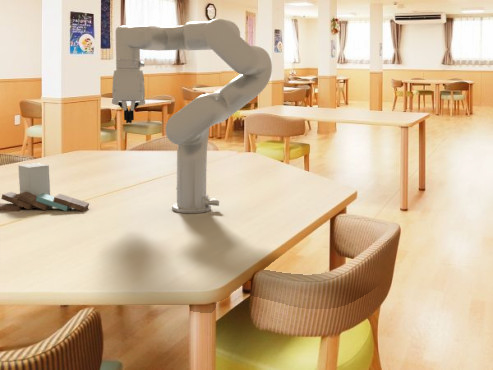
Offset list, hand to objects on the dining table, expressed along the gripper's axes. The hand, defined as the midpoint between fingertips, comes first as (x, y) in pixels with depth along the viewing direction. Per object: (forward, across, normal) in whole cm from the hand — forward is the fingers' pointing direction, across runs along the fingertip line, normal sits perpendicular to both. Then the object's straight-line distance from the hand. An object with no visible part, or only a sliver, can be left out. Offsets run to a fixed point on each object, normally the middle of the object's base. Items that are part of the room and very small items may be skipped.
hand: (129, 122), depth 198 cm
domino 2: (+26, +30, +8) cm, 40 cm away
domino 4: (+26, +18, +9) cm, 33 cm away
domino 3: (+26, +25, +9) cm, 37 cm away
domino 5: (+26, +13, +10) cm, 31 cm away
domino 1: (+27, +33, +9) cm, 44 cm away
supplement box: (+27, +31, -1) cm, 42 cm away
